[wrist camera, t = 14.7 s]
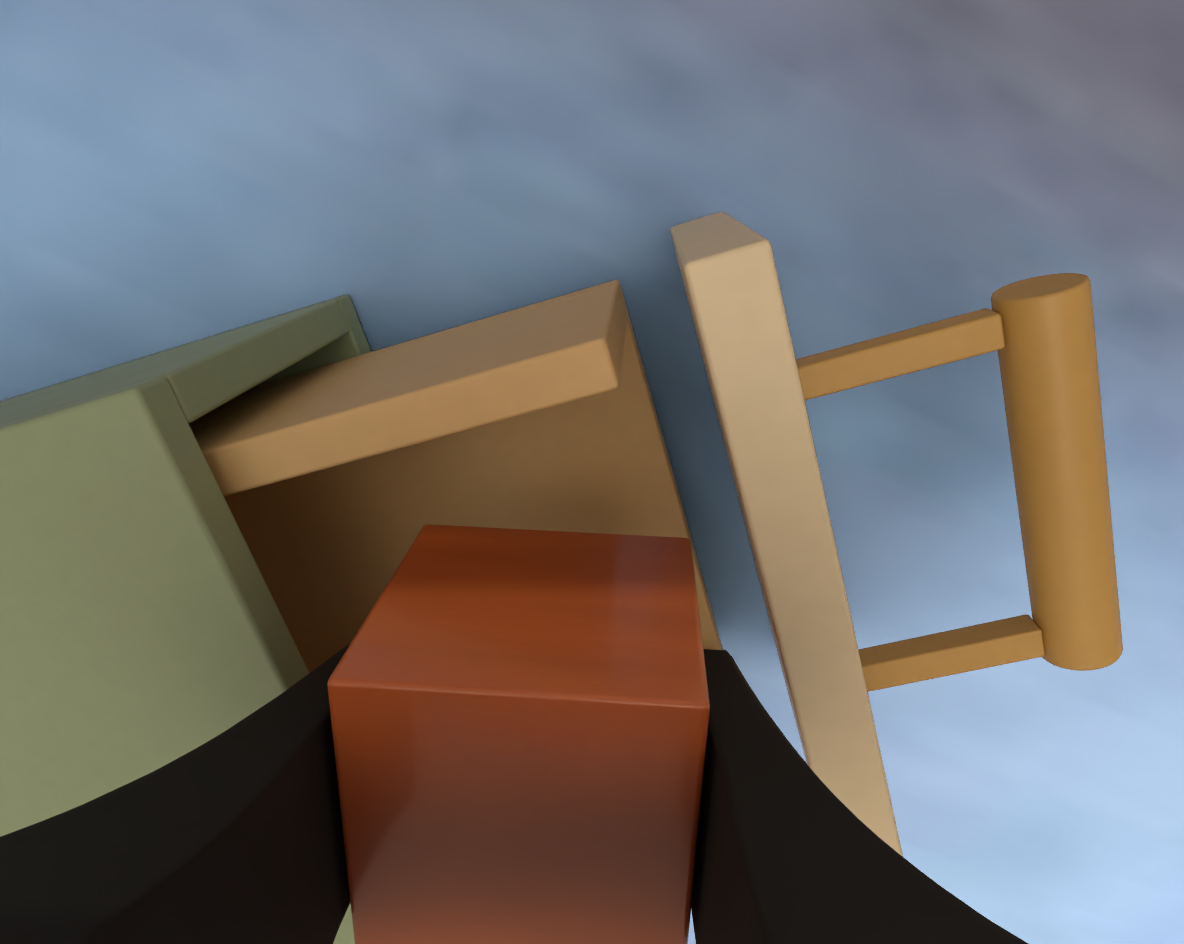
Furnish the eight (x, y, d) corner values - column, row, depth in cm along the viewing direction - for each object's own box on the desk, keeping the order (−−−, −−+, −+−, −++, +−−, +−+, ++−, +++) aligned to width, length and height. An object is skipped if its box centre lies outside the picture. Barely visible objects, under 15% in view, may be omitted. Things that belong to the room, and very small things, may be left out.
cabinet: (349, 292, 19) (134, 387, 11) (518, 722, 23) (450, 1017, 15) (-184, 458, 22) (-674, 632, 14) (53, 819, 26) (-217, 1117, 18)
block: (423, 521, 13) (324, 680, 9) (691, 536, 13) (710, 705, 9) (433, 739, 15) (353, 958, 11) (674, 755, 15) (684, 985, 11)
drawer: (963, 138, 16) (1165, 122, 10) (1027, 616, 20) (1204, 827, 14) (127, 390, 19) (-125, 501, 13) (316, 765, 23) (191, 994, 17)
